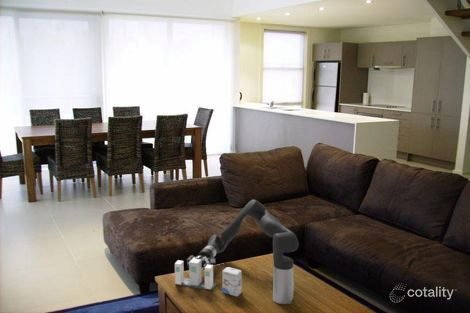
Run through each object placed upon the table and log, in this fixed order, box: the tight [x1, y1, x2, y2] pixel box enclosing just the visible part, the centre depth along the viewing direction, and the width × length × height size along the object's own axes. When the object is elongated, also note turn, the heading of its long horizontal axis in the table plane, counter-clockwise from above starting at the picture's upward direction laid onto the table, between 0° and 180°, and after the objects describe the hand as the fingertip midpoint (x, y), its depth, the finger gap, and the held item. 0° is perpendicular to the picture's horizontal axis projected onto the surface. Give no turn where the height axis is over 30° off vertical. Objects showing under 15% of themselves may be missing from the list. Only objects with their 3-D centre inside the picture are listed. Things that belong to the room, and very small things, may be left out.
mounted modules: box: [174, 259, 214, 290], centre depth 217 cm, size 19×4×11 cm, turn 73°
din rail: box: [174, 277, 217, 291], centre depth 220 cm, size 20×6×1 cm, turn 73°
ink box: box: [221, 266, 243, 297], centre depth 212 cm, size 9×5×12 cm, turn 62°
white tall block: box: [188, 258, 203, 286], centre depth 219 cm, size 4×5×12 cm
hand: (196, 267), depth 220 cm, fingers open, 8 cm apart
